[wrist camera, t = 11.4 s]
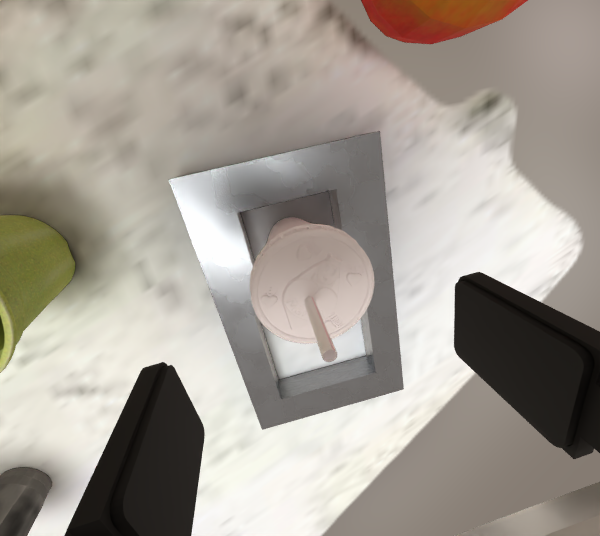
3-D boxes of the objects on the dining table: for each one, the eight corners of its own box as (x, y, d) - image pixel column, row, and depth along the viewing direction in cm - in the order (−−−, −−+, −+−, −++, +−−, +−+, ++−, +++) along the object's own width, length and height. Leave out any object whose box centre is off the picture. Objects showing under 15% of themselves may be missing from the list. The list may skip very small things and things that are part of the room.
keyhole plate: (177, 177, 20) (168, 179, 18) (366, 133, 21) (379, 131, 19) (261, 408, 29) (262, 429, 27) (392, 372, 30) (403, 389, 28)
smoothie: (237, 256, 23) (215, 382, 10) (275, 183, 21) (306, 223, 8) (305, 287, 25) (360, 429, 12) (344, 223, 23) (456, 305, 10)
